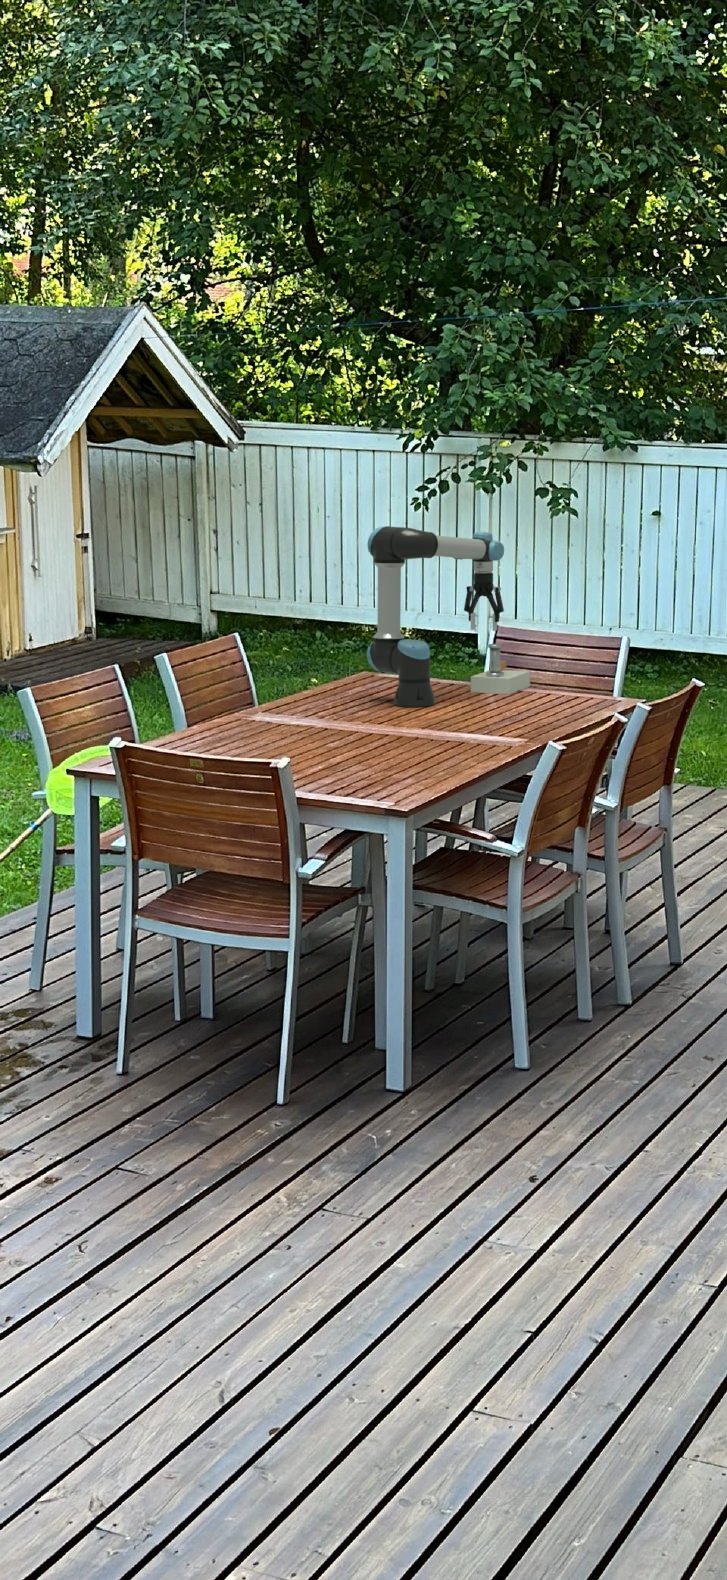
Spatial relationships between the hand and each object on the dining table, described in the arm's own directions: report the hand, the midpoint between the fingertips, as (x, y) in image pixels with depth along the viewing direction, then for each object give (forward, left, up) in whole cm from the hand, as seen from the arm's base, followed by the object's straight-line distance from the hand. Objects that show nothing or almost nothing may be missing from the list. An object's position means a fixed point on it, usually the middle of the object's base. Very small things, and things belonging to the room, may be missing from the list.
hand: (483, 629), depth 703 cm
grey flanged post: (+11, -15, -18) cm, 26 cm away
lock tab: (+7, -3, -15) cm, 17 cm away
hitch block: (+11, -10, -21) cm, 26 cm away
